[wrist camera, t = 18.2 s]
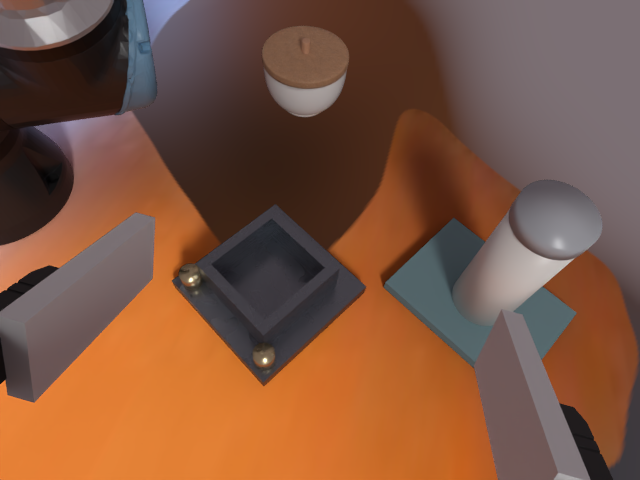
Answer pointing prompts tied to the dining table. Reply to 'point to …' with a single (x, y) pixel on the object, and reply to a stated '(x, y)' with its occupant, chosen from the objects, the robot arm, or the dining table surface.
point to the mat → (437, 303)
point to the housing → (268, 291)
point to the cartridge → (526, 250)
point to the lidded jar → (304, 69)
